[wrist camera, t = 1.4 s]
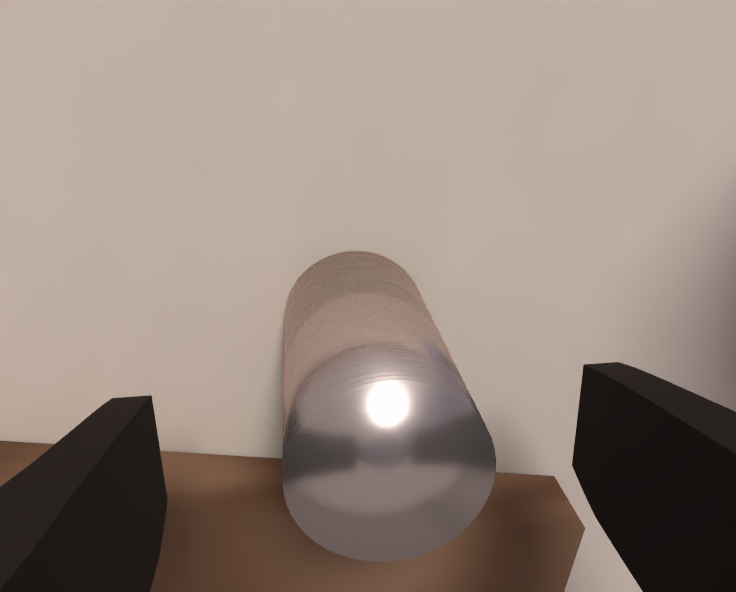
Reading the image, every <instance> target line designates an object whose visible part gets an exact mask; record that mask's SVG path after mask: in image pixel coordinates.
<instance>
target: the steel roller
mask: <svg viewBox="0 0 736 592" xmlns="http://www.w3.org/2000/svg"><path fill="white" fill-rule="evenodd" d="M495 472H496V457H495V449H494V445H493V442H492V438H491V436H490V434H489V432H488V430H487V427H486V425H485V423H484V421H483V419H482V417H481V415H480V413H479V411H478V409H477V407H476V405H475V403H474V401H473V399H472V397H471V395H470V393H469V391H468V389H467V387H466V385H465V383H464V381H463V379H462V377H461V375H460V373H459V371H458V369H457V367H456V365H455V363H454V361H453V359H452V357H451V355H450V353H449V351H448V349H447V347H446V345H445V343H444V341H443V339H442V337H441V335H440V333H439V331H438V329H437V327H436V325H435V323H434V321H433V319H432V317H431V315H430V313H429V311H428V309H427V307H426V305H425V303H424V301H423V299H422V297H421V295H420V293H419V291H418V289H417V287H416V285H415V283H414V281H413V280H412V278H411V277H410V276H409V275H408V273H407V272H406V271H405V270H404V269H403V268H402V267H400V266H399V265H398V264H397V263H395V262H393V261H392V260H390V259H388V258H386V257H384V256H381V255H378V254H375V253H370V252H365V251H349V252H342V253H337V254H334V255H331V256H328V257H326V258H324V259H322V260H320V261H318V262H317V263H315V264H313V265H312V266H311V267H309V268H308V269H307V270H306V271H305V272H304V273H303V274H302V275H301V276H300V277H299V278H298V280H297V281H296V283H295V284H294V286H293V288H292V290H291V291H290V293H289V296H288V299H287V303H286V308H285V332H284V408H283V492H284V497H285V500H286V504H287V507H288V509H289V511H290V513H291V516H292V517H293V519H294V520H295V522H296V523H297V525H298V526H299V527H300V528H301V530H302V531H303V532H304V533H305V534H306V535H307V536H308V537H310V538H311V539H312V540H313V541H314V542H316V543H317V544H319V545H320V546H322V547H324V548H325V549H327V550H329V551H332V552H334V553H336V554H339V555H342V556H345V557H348V558H352V559H357V560H362V561H373V562H384V561H396V560H402V559H407V558H412V557H415V556H418V555H421V554H424V553H427V552H429V551H432V550H434V549H436V548H438V547H440V546H442V545H443V544H445V543H447V542H449V541H450V540H452V539H453V538H454V537H456V536H457V535H458V534H460V533H461V532H462V531H463V530H464V529H465V528H466V527H467V526H469V525H470V523H471V522H472V521H473V520H474V519H475V518H476V517H477V515H478V514H479V512H480V511H481V509H482V508H483V506H484V505H485V503H486V501H487V499H488V497H489V495H490V492H491V489H492V486H493V483H494V478H495Z"/></svg>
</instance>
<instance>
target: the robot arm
mask: <svg viewBox="0 0 736 592" xmlns="http://www.w3.org/2000/svg"><path fill="white" fill-rule="evenodd" d="M572 466H573V468H574V471H575V473H576V475H577V478H578V480H579V482H580V485H581V487H582V489H583V492H584V494H585V496H586V498H587V500H588V502H589V504H590V506H591V509H592V511H593V513H594V515H595V517H596V518H597V520H598V522H599V523H600V525H601V527H602V528H603V530H604V531H605V533H606V535H607V536H608V538H609V539H610V541H611V542H612V544H613V546H614V547H615V549H616V550H617V552H618V554H619V555H620V557H621V558H622V560H623V561H624V563H625V565H626V566H627V568H628V569H629V571H630V572H631V574H632V575H633V577H634V579H635V580H636V582H637V583H638V585H639V586H640V588H641V589H642V591H643V592H736V412H735V411H733V410H730V409H728V408H726V407H723V406H721V405H719V404H717V403H714V402H712V401H710V400H708V399H706V398H703V397H701V396H699V395H697V394H694V393H692V392H690V391H688V390H685V389H683V388H681V387H679V386H677V385H674V384H672V383H670V382H668V381H665V380H663V379H661V378H659V377H656V376H654V375H651V374H649V373H647V372H644V371H642V370H639V369H637V368H634V367H631V366H629V365H625V364H622V363H619V362H615V363H601V364H586V365H584V367H583V375H582V384H581V393H580V401H579V410H578V419H577V428H576V436H575V445H574V454H573V462H572ZM167 503H168V499H167V492H166V486H165V479H164V473H163V467H162V460H161V454H160V447H159V441H158V435H157V428H156V422H155V415H154V409H153V402H152V396H138V397H124V398H112V399H111V400H109V401H108V402H106V403H105V404H104V405H102V406H101V407H100V408H98V409H97V410H96V411H95V412H93V413H92V414H91V415H90V416H89V417H87V418H86V419H85V420H84V421H83V422H81V423H80V424H79V425H78V426H76V427H75V428H74V429H73V430H72V431H70V432H69V433H68V434H67V435H66V436H64V437H63V438H62V439H61V440H60V441H58V442H57V443H56V444H55V445H53V446H52V447H51V448H50V449H48V450H47V451H46V452H45V453H44V454H42V455H41V456H40V457H39V458H37V459H36V460H35V461H34V462H32V463H31V464H30V465H29V466H27V467H26V468H25V469H23V470H22V471H21V472H19V473H18V474H17V475H15V476H14V477H13V478H11V479H10V480H8V481H7V482H6V483H4V484H3V485H2V486H0V592H150V590H151V586H152V583H153V579H154V575H155V572H156V568H157V565H158V561H159V557H160V551H161V545H162V538H163V532H164V525H165V517H166V510H167Z"/></svg>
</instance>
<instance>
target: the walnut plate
mask: <svg viewBox="0 0 736 592" xmlns="http://www.w3.org/2000/svg"><path fill="white" fill-rule="evenodd" d="M53 445H55V444H40V443H24V442H9V441H0V486H2V485H3V484H4V483H6V482H7V481H8V480H10V479H11V478H13V477H14V476H15V475H17V474H18V473H19V472H21V471H22V470H23V469H25V468H26V467H27V466H29V465H30V464H31V463H32V462H34V461H35V460H36V459H37V458H39V457H40V456H41V455H42V454H44V453H45V452H46V451H47V450H48V449H50V448H51V447H52V446H53ZM160 454H161V460H162V467H163V473H164V479H165V486H166V492H167V499H168V503H167V510H166V517H165V525H164V532H163V538H162V545H161V551H160V557H159V561H158V565H157V568H156V572H155V575H154V579H153V583H152V586H151V590H150V592H564V590H565V587H566V584H567V581H568V578H569V575H570V572H571V569H572V566H573V563H574V560H575V557H576V554H577V551H578V548H579V545H580V542H581V539H582V536H583V533H584V530H585V527H584V526H583V524H582V522H581V520H580V519H579V517H578V515H577V514H576V512H575V510H574V509H573V507H572V505H571V504H570V502H569V500H568V499H567V497H566V495H565V494H564V492H563V490H562V489H561V487H560V485H559V484H558V482H557V480H556V479H555V477H554V476H540V475H525V474H509V473H495V478H494V483H493V486H492V489H491V492H490V495H489V497H488V499H487V501H486V503H485V505H484V506H483V508H482V509H481V511H480V512H479V514H478V515H477V517H476V518H475V519H474V520H473V521H472V522H471V523H470V525H469V526H467V527H466V528H465V529H464V530H463V531H462V532H461V533H460V534H458V535H457V536H456V537H454V538H453V539H452V540H450V541H449V542H447V543H445V544H443V545H442V546H440V547H438V548H436V549H434V550H432V551H429V552H427V553H424V554H421V555H418V556H415V557H412V558H407V559H402V560H396V561H384V562H373V561H362V560H357V559H352V558H348V557H345V556H342V555H339V554H336V553H334V552H332V551H329V550H327V549H325V548H324V547H322V546H320V545H319V544H317V543H316V542H314V541H313V540H312V539H311V538H310V537H308V536H307V535H306V534H305V533H304V532H303V531H302V530H301V528H300V527H299V526H298V525H297V523H296V522H295V520H294V519H293V517H292V516H291V513H290V511H289V509H288V507H287V504H286V500H285V497H284V492H283V459H275V458H259V457H243V456H228V455H212V454H196V453H181V452H165V451H160Z"/></svg>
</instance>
